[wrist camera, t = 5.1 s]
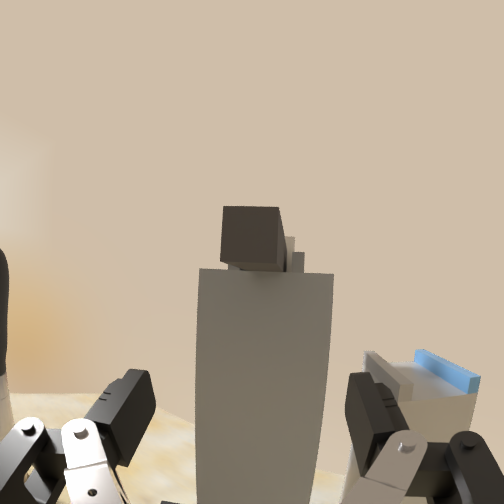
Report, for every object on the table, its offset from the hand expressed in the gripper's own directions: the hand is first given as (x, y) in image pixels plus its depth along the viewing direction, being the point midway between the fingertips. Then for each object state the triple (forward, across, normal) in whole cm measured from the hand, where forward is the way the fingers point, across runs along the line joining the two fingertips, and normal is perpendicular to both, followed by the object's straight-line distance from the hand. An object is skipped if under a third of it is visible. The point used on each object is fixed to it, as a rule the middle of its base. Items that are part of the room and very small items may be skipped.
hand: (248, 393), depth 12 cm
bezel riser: (+8, +14, -32) cm, 36 cm away
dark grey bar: (+14, 0, +1) cm, 14 cm away
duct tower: (+9, -1, -31) cm, 32 cm away
